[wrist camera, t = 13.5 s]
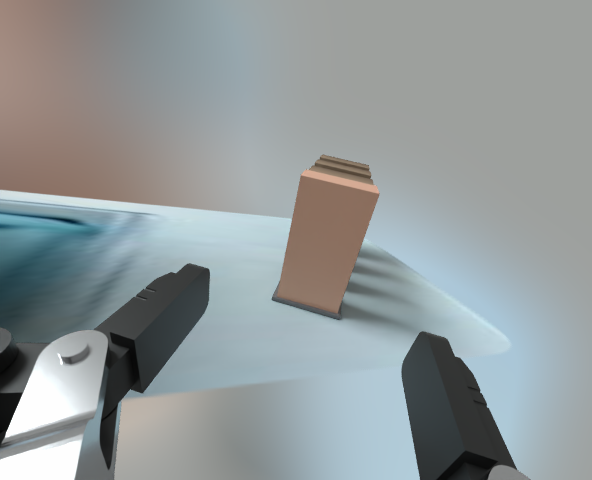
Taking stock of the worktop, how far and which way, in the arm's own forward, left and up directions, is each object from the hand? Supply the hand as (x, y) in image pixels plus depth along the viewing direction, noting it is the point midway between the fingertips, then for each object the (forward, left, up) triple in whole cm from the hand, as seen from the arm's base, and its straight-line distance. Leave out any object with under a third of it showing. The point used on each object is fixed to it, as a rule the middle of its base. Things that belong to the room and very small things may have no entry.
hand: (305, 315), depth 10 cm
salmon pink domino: (+3, +9, -7) cm, 12 cm away
